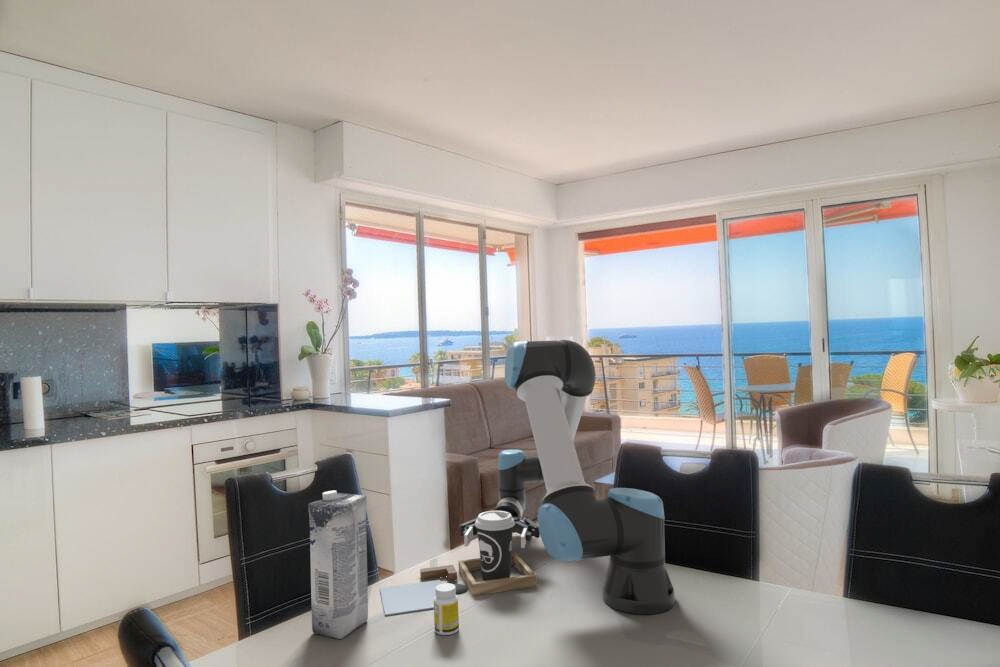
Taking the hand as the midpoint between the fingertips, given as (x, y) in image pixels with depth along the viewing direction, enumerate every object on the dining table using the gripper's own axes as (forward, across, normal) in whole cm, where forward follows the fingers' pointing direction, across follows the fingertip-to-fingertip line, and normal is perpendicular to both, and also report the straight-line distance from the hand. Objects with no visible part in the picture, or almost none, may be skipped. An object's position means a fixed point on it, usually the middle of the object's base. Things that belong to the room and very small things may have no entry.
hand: (493, 541), depth 142 cm
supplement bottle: (+25, +5, -9) cm, 27 cm away
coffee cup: (0, 0, -9) cm, 9 cm away
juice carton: (+27, +27, -9) cm, 39 cm away
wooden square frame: (0, 0, -9) cm, 9 cm away
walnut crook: (+1, +13, -9) cm, 16 cm away
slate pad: (+12, +16, -9) cm, 22 cm away
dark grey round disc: (+7, +8, -9) cm, 13 cm away
